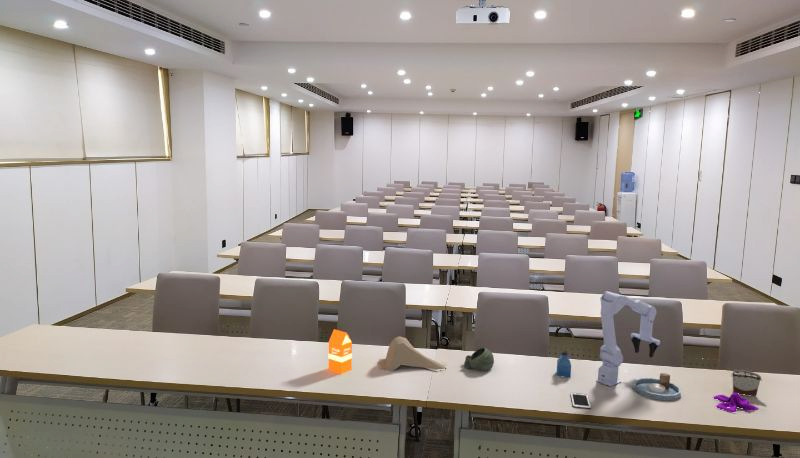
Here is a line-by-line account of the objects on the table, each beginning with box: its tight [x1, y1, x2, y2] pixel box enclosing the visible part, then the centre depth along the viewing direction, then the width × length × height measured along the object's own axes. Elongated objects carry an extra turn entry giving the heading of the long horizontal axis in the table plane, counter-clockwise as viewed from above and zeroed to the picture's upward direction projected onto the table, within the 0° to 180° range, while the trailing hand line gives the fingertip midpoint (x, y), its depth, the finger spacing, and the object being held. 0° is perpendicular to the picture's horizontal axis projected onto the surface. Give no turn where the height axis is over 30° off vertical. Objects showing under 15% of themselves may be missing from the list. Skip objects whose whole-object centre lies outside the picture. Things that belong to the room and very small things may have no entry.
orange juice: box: [328, 328, 353, 375], centre depth 283 cm, size 8×9×20 cm
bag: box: [378, 336, 446, 372], centre depth 291 cm, size 19×17×35 cm
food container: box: [730, 369, 763, 397], centre depth 268 cm, size 12×6×10 cm, turn 71°
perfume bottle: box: [556, 350, 572, 378], centre depth 284 cm, size 6×6×12 cm
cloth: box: [712, 392, 760, 413], centre depth 254 cm, size 22×19×6 cm
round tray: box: [633, 377, 682, 401], centre depth 268 cm, size 20×20×2 cm
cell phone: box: [570, 392, 592, 410], centre depth 255 cm, size 8×15×1 cm, turn 168°
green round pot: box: [463, 347, 495, 372], centre depth 292 cm, size 15×15×10 cm
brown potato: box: [659, 372, 671, 389], centre depth 271 cm, size 4×4×6 cm
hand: (643, 354), depth 286 cm, fingers open, 7 cm apart
